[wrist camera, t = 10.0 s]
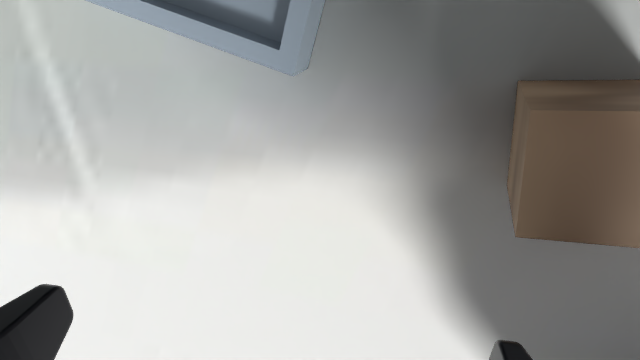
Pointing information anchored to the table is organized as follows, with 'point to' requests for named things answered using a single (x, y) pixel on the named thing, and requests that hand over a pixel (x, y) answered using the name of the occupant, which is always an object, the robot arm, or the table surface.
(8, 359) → the robot arm
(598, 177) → the walnut block
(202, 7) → the tray
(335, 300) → the table surface
